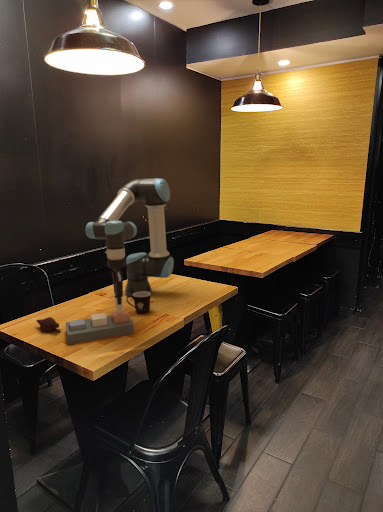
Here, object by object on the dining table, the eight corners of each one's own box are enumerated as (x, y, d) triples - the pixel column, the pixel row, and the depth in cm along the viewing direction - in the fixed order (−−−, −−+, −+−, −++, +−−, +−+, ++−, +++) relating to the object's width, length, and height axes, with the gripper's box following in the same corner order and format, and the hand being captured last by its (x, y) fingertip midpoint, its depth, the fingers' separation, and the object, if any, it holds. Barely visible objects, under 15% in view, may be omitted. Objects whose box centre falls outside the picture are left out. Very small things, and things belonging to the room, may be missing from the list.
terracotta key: (125, 318, 166) (125, 309, 165) (128, 323, 160) (127, 314, 159) (112, 320, 163) (111, 311, 163) (114, 325, 158) (114, 316, 157)
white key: (105, 321, 162) (104, 312, 161) (107, 326, 157) (106, 317, 156) (91, 323, 160) (90, 314, 159) (93, 328, 155) (92, 319, 154)
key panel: (127, 322, 171) (127, 312, 170) (134, 335, 158) (133, 324, 157) (66, 332, 161) (65, 322, 160) (68, 346, 148) (67, 335, 147)
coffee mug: (155, 312, 183) (154, 293, 181) (143, 318, 176) (142, 298, 174) (137, 307, 189) (136, 289, 187) (125, 313, 182) (124, 294, 180)
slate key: (84, 327, 160) (83, 318, 159) (86, 332, 154) (85, 324, 153) (70, 329, 157) (69, 321, 157) (71, 335, 152) (70, 326, 151)
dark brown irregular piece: (27, 318, 161) (50, 328, 154) (41, 309, 167) (64, 318, 160) (32, 331, 165) (54, 341, 157) (45, 321, 170) (67, 331, 163)
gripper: (104, 255, 160) (108, 306, 165) (109, 262, 148) (113, 317, 153) (122, 253, 162) (125, 304, 168) (128, 260, 151) (131, 314, 156)
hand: (119, 310), depth 161 cm, fingers closed
